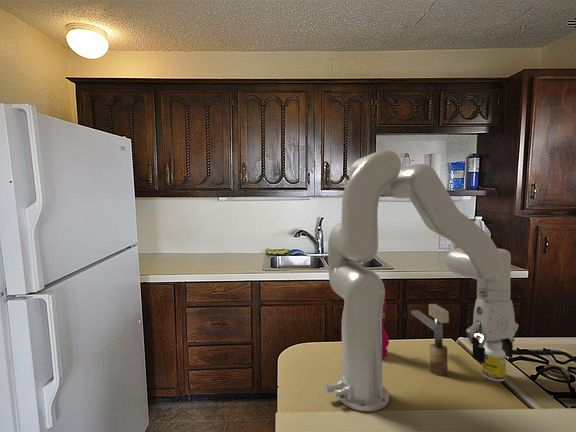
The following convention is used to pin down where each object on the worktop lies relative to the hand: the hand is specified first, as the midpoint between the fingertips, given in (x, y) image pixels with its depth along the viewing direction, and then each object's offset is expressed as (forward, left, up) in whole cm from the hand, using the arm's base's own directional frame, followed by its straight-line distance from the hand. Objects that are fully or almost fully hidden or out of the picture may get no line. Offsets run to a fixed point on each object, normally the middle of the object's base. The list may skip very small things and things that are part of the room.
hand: (492, 357), depth 86 cm
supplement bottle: (0, 0, -5) cm, 5 cm away
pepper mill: (-21, +22, -5) cm, 31 cm away
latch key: (-10, +12, +2) cm, 16 cm away
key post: (-11, +7, -5) cm, 14 cm away
